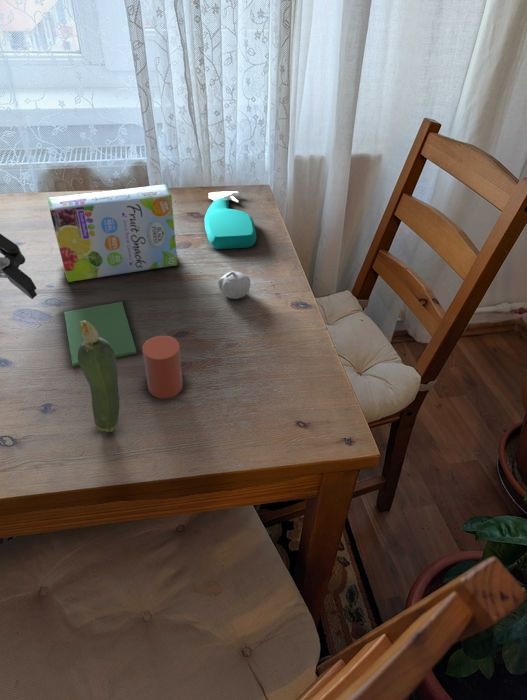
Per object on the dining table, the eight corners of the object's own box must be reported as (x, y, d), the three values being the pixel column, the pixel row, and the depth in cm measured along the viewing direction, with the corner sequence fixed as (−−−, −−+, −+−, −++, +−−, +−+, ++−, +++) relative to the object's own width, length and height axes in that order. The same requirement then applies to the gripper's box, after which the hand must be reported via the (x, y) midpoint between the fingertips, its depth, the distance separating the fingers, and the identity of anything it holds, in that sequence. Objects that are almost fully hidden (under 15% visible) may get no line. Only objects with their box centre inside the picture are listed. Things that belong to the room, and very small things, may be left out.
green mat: (136, 353, 85) (136, 350, 84) (72, 366, 82) (72, 364, 81) (122, 304, 94) (122, 301, 94) (64, 314, 91) (64, 311, 91)
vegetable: (108, 412, 75) (82, 300, 62) (134, 421, 74) (114, 309, 61) (90, 435, 72) (59, 322, 59) (118, 444, 71) (93, 331, 58)
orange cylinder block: (173, 402, 77) (169, 363, 72) (141, 393, 78) (135, 353, 73) (188, 379, 81) (185, 340, 76) (158, 370, 82) (153, 331, 77)
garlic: (220, 305, 95) (220, 281, 92) (216, 288, 99) (216, 264, 96) (253, 302, 96) (253, 278, 93) (247, 285, 100) (248, 262, 97)
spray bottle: (208, 250, 109) (199, 199, 127) (259, 248, 111) (243, 198, 129) (207, 238, 107) (199, 187, 125) (260, 235, 109) (244, 186, 127)
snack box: (171, 252, 108) (165, 182, 98) (177, 266, 104) (172, 195, 94) (64, 268, 102) (46, 195, 92) (67, 283, 98) (48, 210, 88)
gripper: (-181, 258, 52) (-71, 353, 50) (-63, 175, 58) (43, 258, 55) (-136, 294, 59) (-37, 380, 57) (-34, 217, 64) (61, 292, 62)
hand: (2, 320), depth 56 cm, fingers open, 8 cm apart
